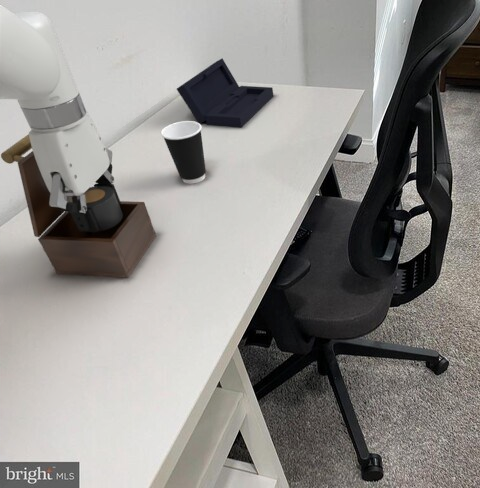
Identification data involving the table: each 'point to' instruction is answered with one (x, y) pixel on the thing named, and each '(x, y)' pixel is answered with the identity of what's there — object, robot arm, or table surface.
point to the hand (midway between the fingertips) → (100, 216)
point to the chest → (100, 244)
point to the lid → (32, 186)
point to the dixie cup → (186, 149)
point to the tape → (103, 206)
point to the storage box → (222, 97)
